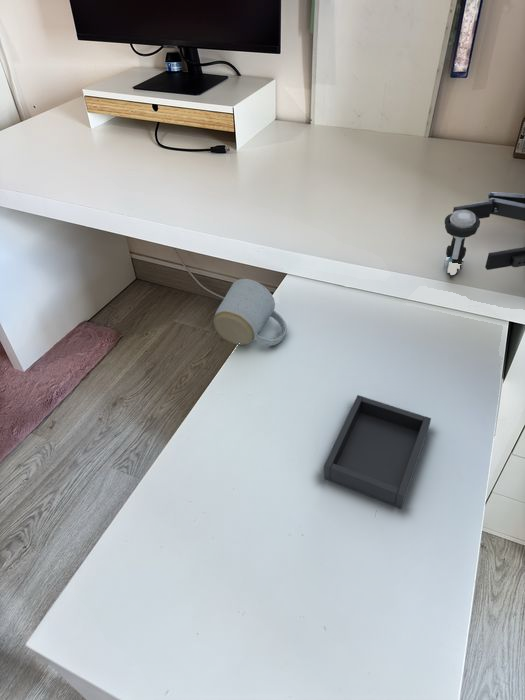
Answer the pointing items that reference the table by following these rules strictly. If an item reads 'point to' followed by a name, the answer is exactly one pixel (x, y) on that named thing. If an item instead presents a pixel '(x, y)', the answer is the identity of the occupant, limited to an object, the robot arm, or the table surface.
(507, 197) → the robot arm
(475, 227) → the push button
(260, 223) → the table surface
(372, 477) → the tray
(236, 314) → the ceramic mug
